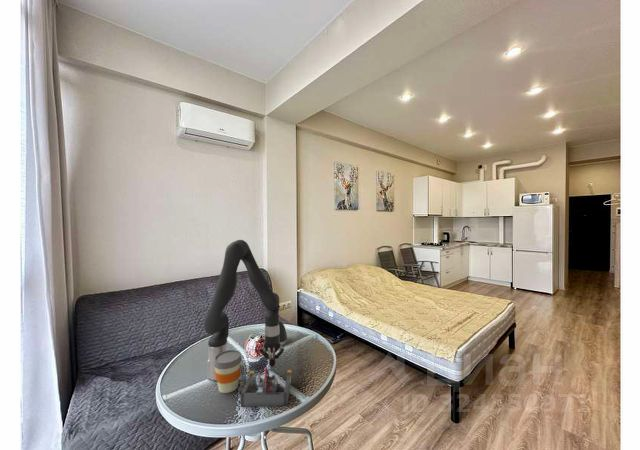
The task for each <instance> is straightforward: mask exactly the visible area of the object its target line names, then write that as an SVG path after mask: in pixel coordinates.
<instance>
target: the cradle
mask: <svg viewBox="0 0 640 450" xmlns="http://www.w3.org/2000/svg"><path fill="white" fill-rule="evenodd" d="M286 373H287V374H286V375H287V376H286V380H285V386H284V388H283V389H284V390H283V391H278V392H277V391H276V392H265V393H256V392H252V388H253V386H254V374H255V370H250V371H249V373H248V374H249V375H248V377H247V380H246V382H245V384H244V387H243V389H242V391H241V393H240V408H245V407H246V408H249V407H254V408H255V407H288V402H289V396H290V391H291V386H290V385H292V370H291V369H288V370H287V371H286Z"/></svg>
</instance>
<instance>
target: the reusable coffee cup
mask: <svg viewBox="0 0 640 450" xmlns="http://www.w3.org/2000/svg"><path fill="white" fill-rule="evenodd" d="M242 359H243V358H242V353H241V351H239V350H236V349H229V350H228V349H227V351H224V352H221V353H219V354H218V355H216V356H215V360H214V366H215V376H216V380H215V381H216V382H217V388H218V392H220V393H222V394H228V393H232V392H234V391H236V390H237V388H238V387H239V382H240V381H239V380H240V376H241V370H242V364H241V363H242Z"/></svg>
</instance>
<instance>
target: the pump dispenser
mask: <svg viewBox="0 0 640 450" xmlns="http://www.w3.org/2000/svg"><path fill="white" fill-rule="evenodd" d="M279 330H280V332H279V333H280V344H281V346H282V347H283V346H284V345H286V342H287V340H288V334H287V330H286V327H285V324H284V323H283V321H280V320H279Z"/></svg>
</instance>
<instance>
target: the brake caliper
mask: <svg viewBox="0 0 640 450" xmlns="http://www.w3.org/2000/svg"><path fill="white" fill-rule="evenodd" d="M255 382H256V387H257V390H256V391H255V393H265V392H277V389H278V379H277V377H276V375H275V374H272V375H271V376H270V372H269V370H268V368H267V367H266V366H265V367H264V374H262V375H260V374H259V375H256V376H255Z"/></svg>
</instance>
